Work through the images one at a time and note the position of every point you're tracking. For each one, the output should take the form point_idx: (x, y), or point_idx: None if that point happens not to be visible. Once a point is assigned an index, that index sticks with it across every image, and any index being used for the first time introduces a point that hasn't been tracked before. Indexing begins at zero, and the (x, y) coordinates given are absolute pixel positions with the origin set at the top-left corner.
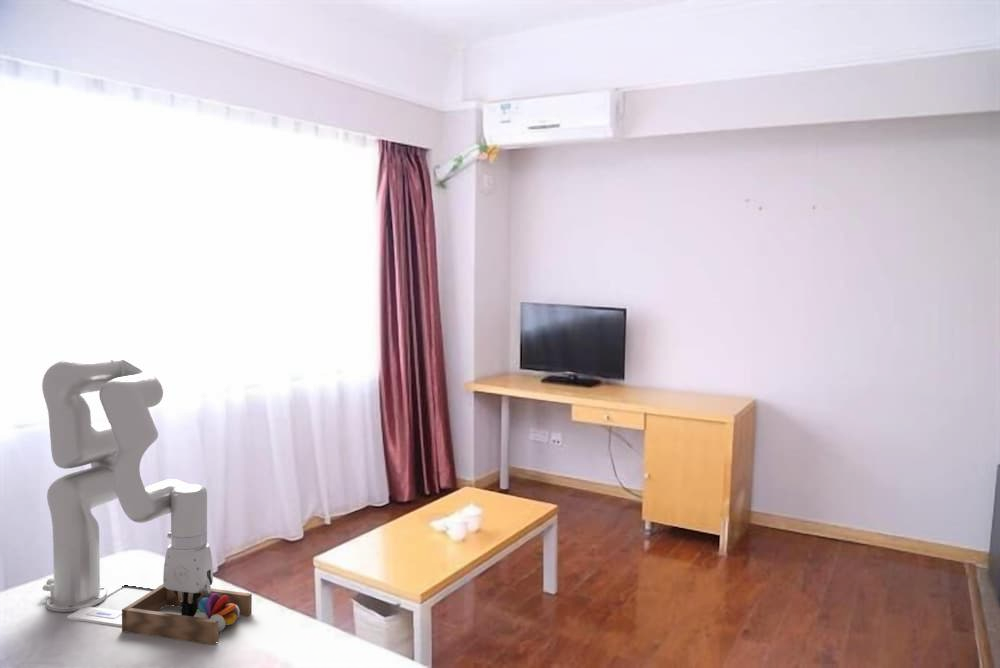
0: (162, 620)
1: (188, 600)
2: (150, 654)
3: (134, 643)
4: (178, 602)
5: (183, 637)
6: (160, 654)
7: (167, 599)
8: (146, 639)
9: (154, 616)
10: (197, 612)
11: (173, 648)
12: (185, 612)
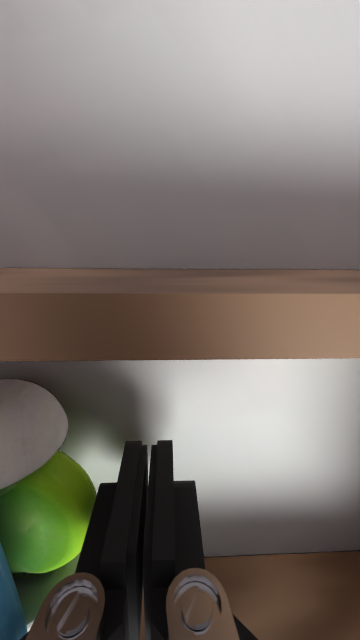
0: (205, 286)
1: (95, 613)
2: (114, 28)
3: (320, 151)
4: (321, 579)
5: (24, 270)
6: (43, 48)
7: None
8: (273, 220)
9: (313, 289)
10: (55, 505)
11: (18, 155)
12: (141, 481)
